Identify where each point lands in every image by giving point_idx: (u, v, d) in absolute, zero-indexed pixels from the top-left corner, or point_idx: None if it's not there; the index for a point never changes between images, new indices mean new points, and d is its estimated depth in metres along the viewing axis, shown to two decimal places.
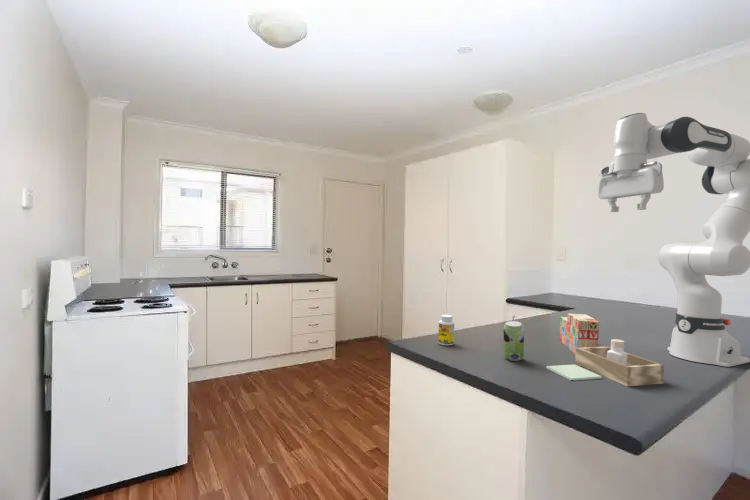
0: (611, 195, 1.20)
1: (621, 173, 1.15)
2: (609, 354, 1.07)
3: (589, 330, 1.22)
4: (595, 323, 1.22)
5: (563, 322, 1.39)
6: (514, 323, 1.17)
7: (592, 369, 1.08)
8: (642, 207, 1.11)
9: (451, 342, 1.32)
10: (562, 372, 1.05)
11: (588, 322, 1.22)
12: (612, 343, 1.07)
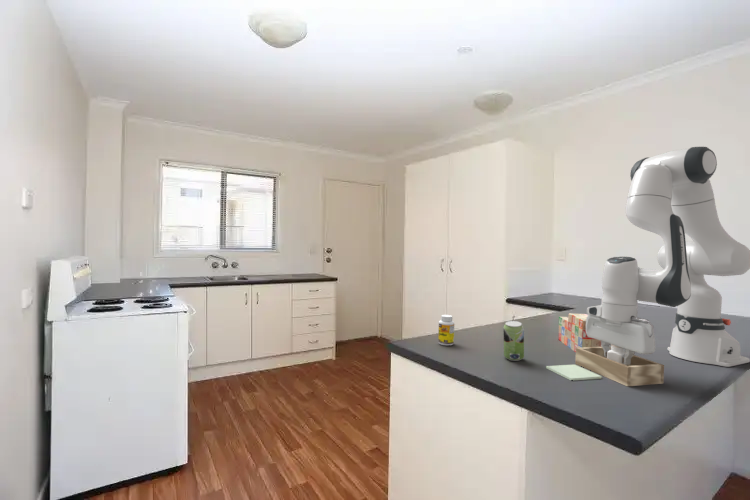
0: (599, 338, 1.11)
1: (610, 321, 1.06)
2: (609, 354, 1.07)
3: None
4: None
5: (563, 322, 1.39)
6: (514, 323, 1.17)
7: (592, 369, 1.08)
8: (626, 362, 1.04)
9: (451, 342, 1.32)
10: (562, 372, 1.05)
11: None
12: None
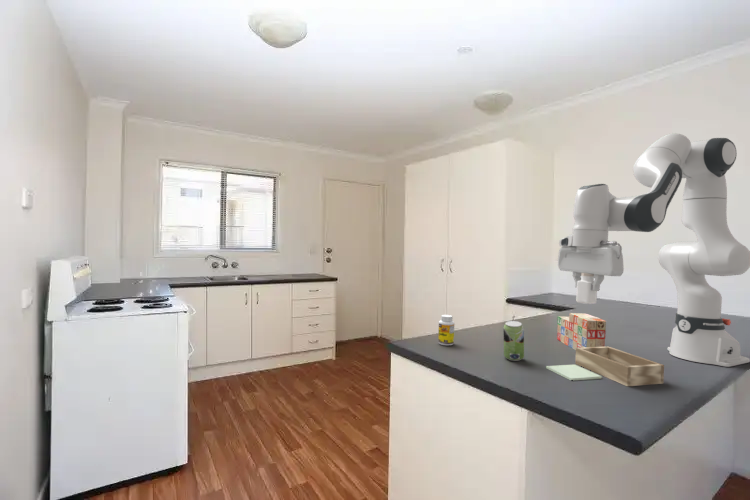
0: (571, 269, 1.10)
1: (580, 248, 1.05)
2: (579, 283, 1.06)
3: (597, 330, 1.23)
4: (602, 322, 1.23)
5: (563, 322, 1.40)
6: (514, 323, 1.17)
7: (592, 369, 1.08)
8: (595, 288, 1.03)
9: (451, 342, 1.32)
10: (562, 372, 1.05)
11: (596, 322, 1.23)
12: None
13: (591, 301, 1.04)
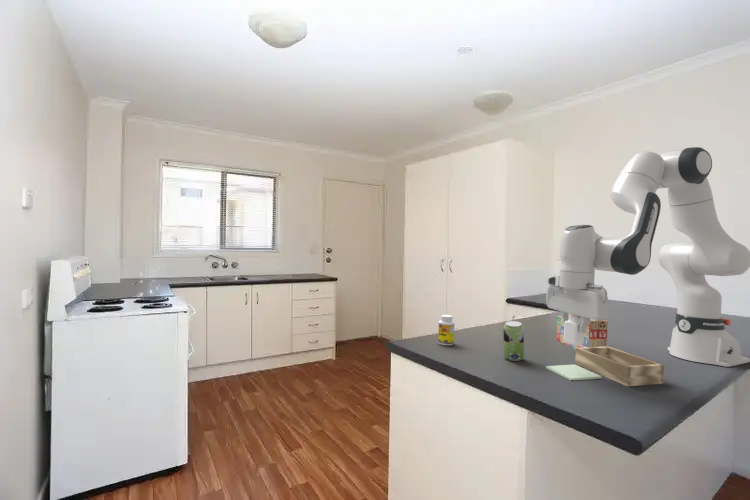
0: (558, 308, 1.10)
1: (567, 290, 1.05)
2: (566, 324, 1.06)
3: (599, 329, 1.23)
4: (604, 322, 1.24)
5: None
6: (514, 323, 1.17)
7: (592, 369, 1.08)
8: (582, 330, 1.03)
9: (451, 342, 1.32)
10: (562, 372, 1.05)
11: (598, 321, 1.23)
12: (569, 313, 1.06)
13: (578, 342, 1.04)
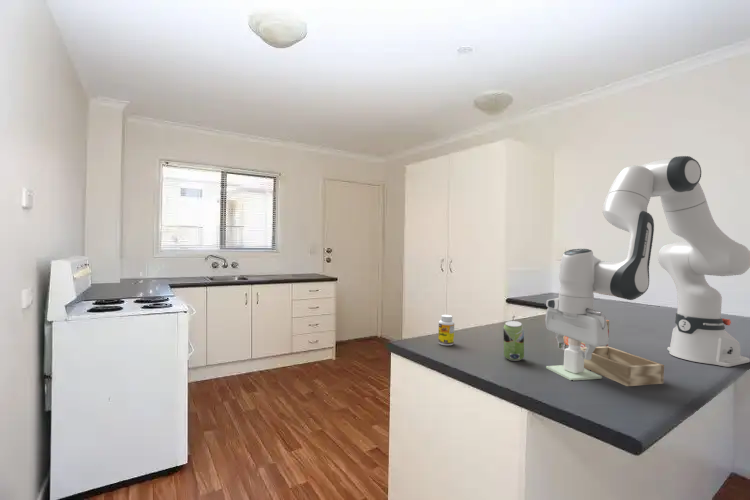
0: (558, 331, 1.10)
1: (566, 314, 1.05)
2: (566, 352, 1.06)
3: None
4: None
5: None
6: (514, 323, 1.17)
7: (592, 369, 1.08)
8: (587, 357, 1.01)
9: (451, 342, 1.32)
10: (562, 372, 1.05)
11: None
12: (569, 341, 1.06)
13: (578, 371, 1.04)
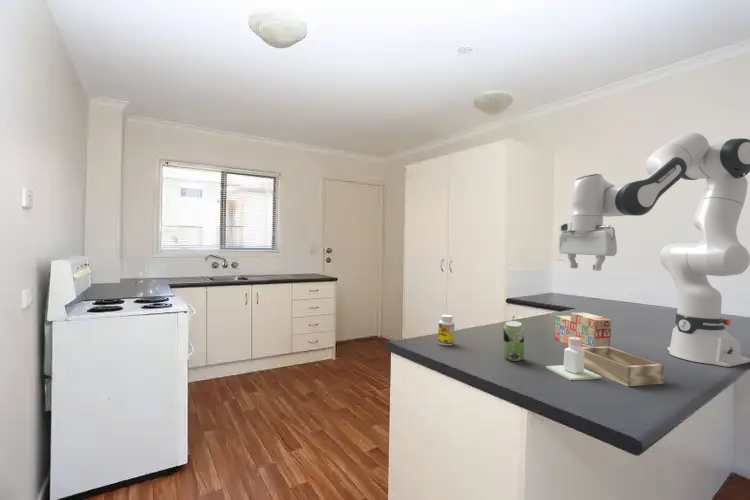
0: (570, 252, 1.22)
1: (578, 233, 1.17)
2: (566, 352, 1.06)
3: (603, 329, 1.25)
4: (608, 321, 1.25)
5: (562, 321, 1.40)
6: (514, 323, 1.17)
7: (592, 369, 1.08)
8: (597, 268, 1.13)
9: (451, 342, 1.32)
10: (562, 372, 1.05)
11: (602, 321, 1.25)
12: (569, 341, 1.06)
13: (578, 371, 1.04)
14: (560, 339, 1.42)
